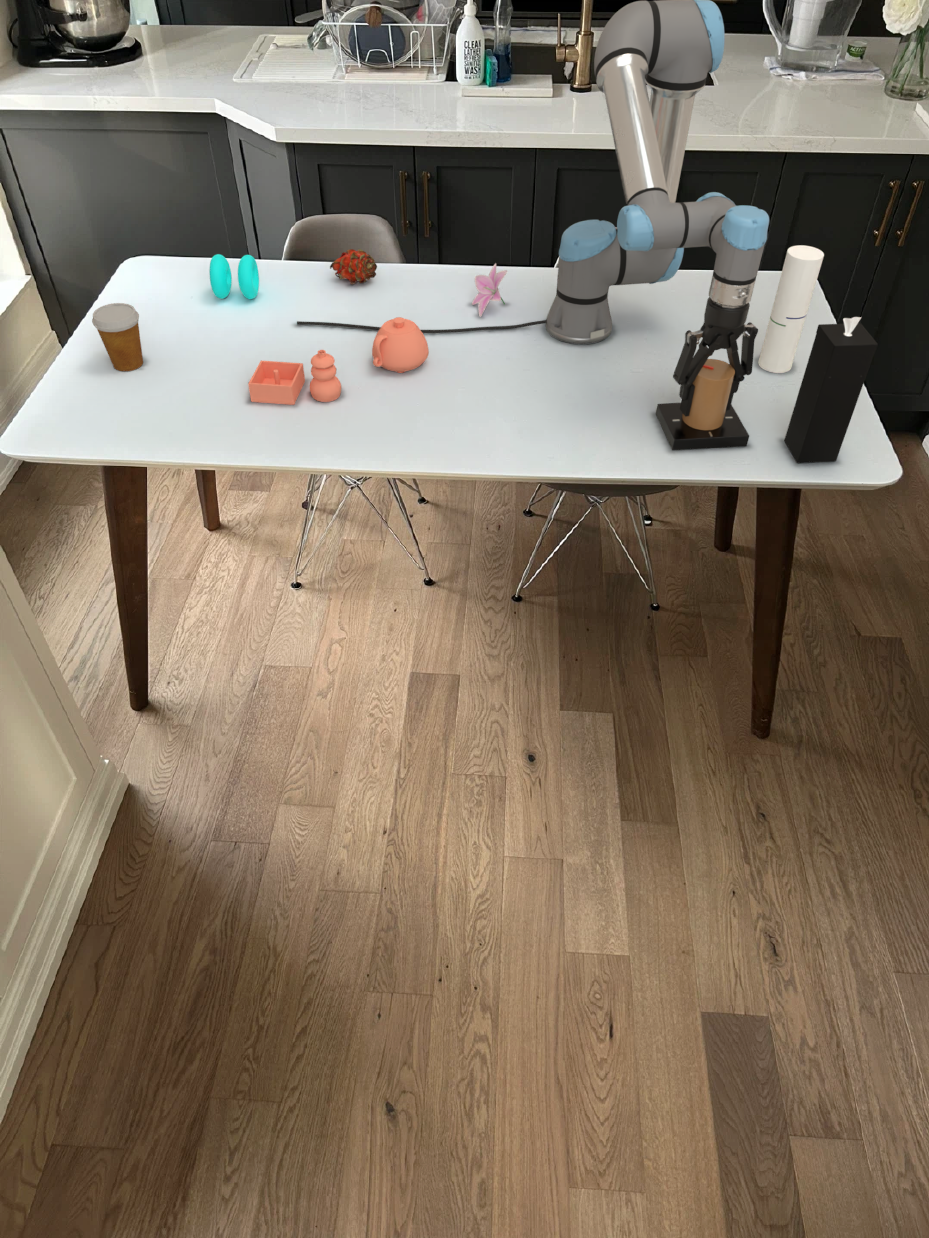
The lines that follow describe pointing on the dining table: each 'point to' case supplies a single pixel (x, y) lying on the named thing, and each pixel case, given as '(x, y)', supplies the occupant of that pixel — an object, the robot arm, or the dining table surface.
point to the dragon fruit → (354, 266)
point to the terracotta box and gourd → (294, 381)
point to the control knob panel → (692, 438)
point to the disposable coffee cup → (120, 335)
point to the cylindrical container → (790, 308)
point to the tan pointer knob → (710, 395)
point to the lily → (488, 288)
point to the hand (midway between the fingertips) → (704, 409)
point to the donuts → (223, 279)
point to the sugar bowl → (399, 346)
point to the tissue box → (829, 390)
